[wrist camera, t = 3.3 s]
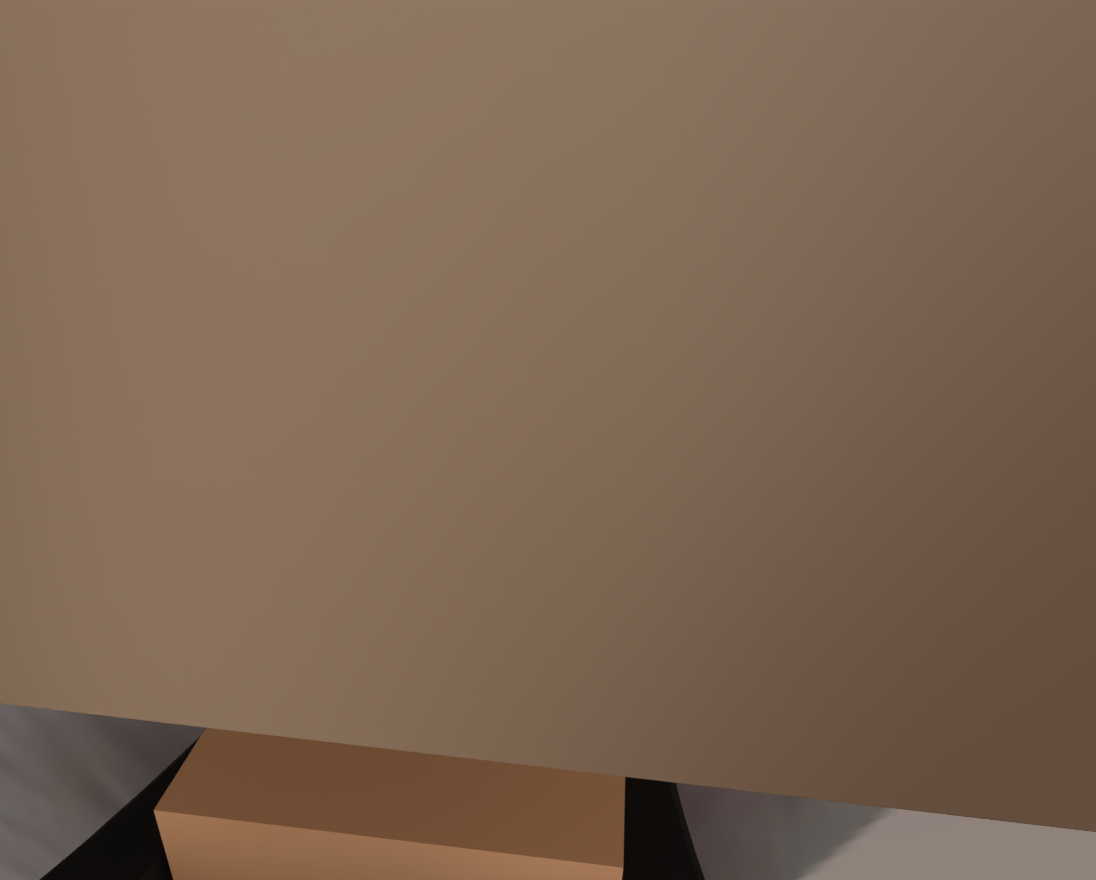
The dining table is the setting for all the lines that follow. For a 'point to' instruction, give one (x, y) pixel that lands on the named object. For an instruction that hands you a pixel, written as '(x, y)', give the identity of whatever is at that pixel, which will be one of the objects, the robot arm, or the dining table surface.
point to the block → (382, 815)
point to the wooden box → (563, 384)
